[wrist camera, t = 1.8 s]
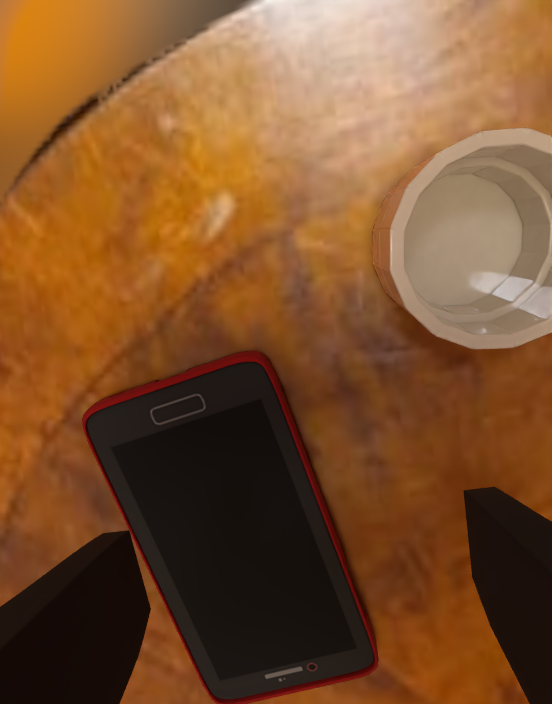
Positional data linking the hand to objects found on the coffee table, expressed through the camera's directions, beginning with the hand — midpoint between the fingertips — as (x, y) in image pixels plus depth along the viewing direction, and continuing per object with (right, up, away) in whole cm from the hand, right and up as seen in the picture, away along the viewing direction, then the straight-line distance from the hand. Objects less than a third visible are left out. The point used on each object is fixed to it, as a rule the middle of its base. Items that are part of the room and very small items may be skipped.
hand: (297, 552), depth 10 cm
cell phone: (-2, -3, +10) cm, 11 cm away
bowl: (+6, +8, +7) cm, 12 cm away
